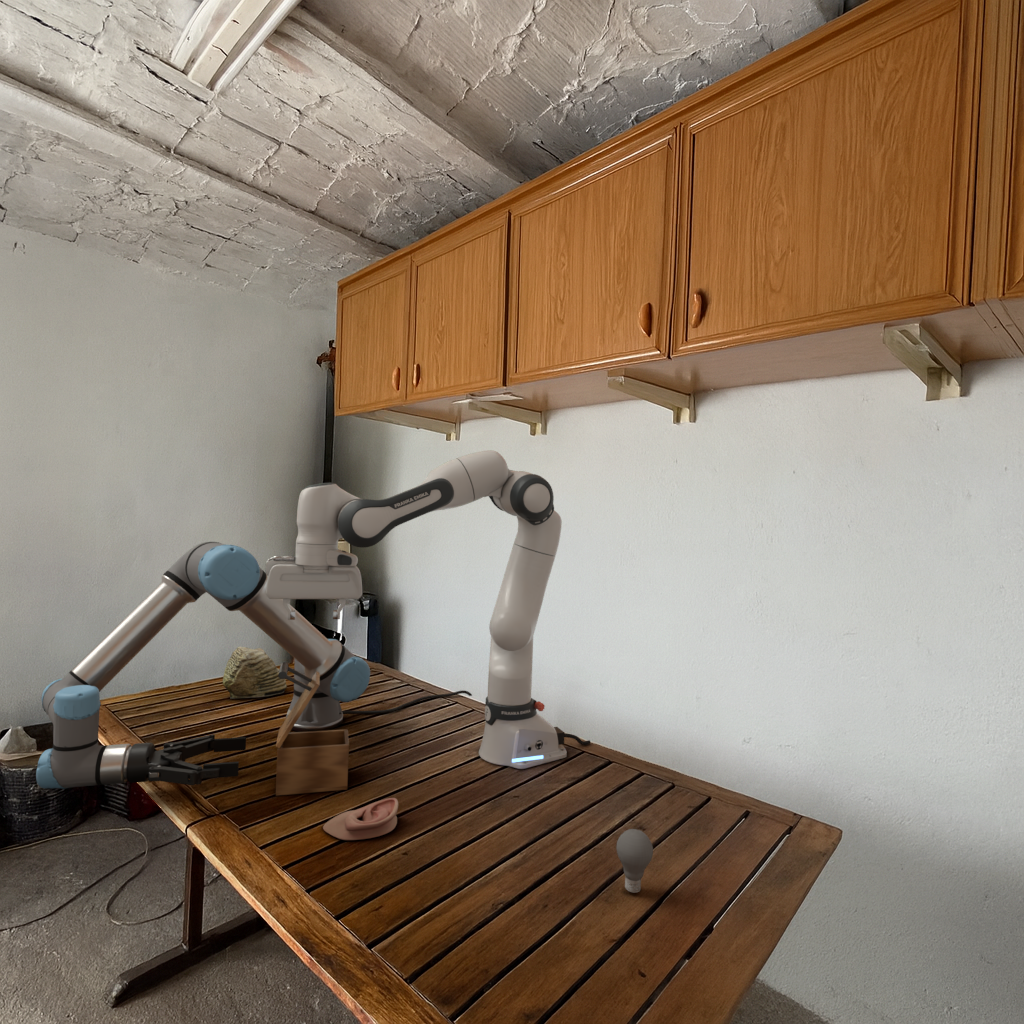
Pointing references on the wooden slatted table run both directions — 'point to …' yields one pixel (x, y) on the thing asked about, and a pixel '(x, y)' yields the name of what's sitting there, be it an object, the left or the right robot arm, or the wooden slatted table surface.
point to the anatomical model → (364, 821)
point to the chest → (313, 762)
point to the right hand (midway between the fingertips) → (314, 619)
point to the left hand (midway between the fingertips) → (242, 755)
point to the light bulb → (634, 857)
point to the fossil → (252, 674)
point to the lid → (301, 701)
